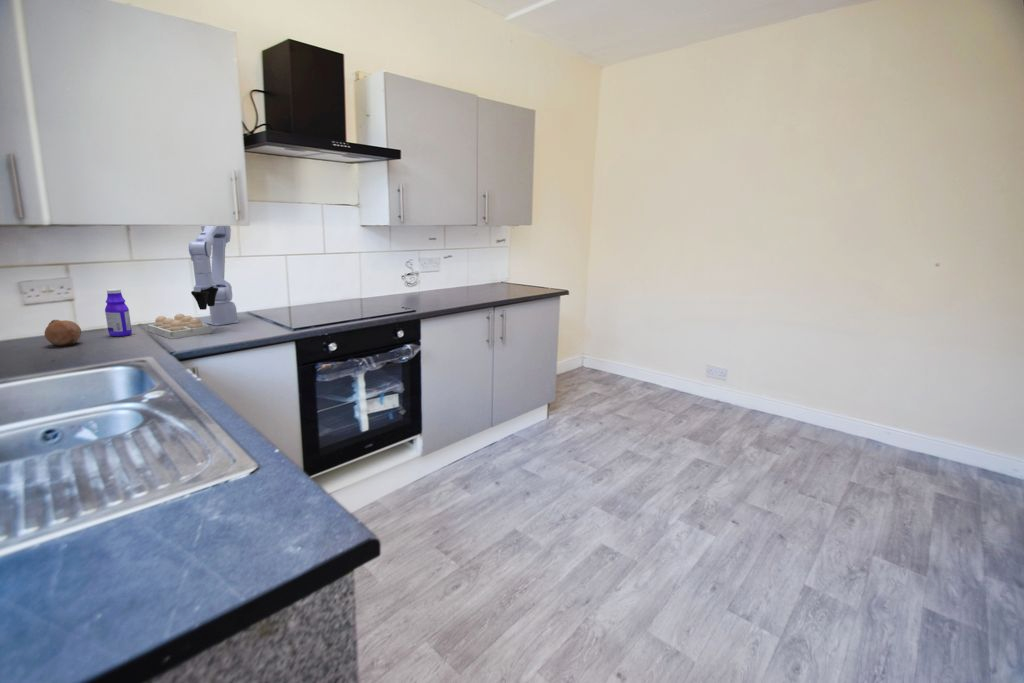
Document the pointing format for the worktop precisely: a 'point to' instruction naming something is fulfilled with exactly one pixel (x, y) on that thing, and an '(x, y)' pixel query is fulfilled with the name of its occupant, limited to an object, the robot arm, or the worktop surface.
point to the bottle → (117, 314)
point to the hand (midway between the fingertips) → (207, 307)
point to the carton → (176, 327)
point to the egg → (195, 323)
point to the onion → (62, 332)
